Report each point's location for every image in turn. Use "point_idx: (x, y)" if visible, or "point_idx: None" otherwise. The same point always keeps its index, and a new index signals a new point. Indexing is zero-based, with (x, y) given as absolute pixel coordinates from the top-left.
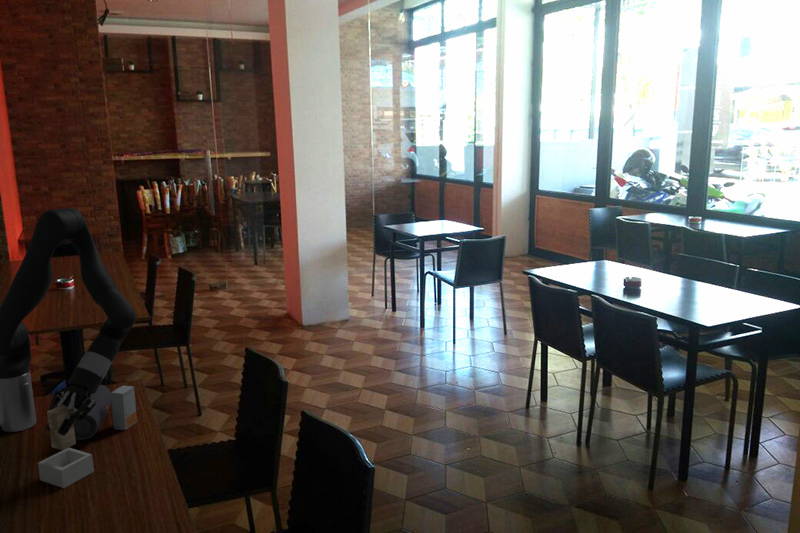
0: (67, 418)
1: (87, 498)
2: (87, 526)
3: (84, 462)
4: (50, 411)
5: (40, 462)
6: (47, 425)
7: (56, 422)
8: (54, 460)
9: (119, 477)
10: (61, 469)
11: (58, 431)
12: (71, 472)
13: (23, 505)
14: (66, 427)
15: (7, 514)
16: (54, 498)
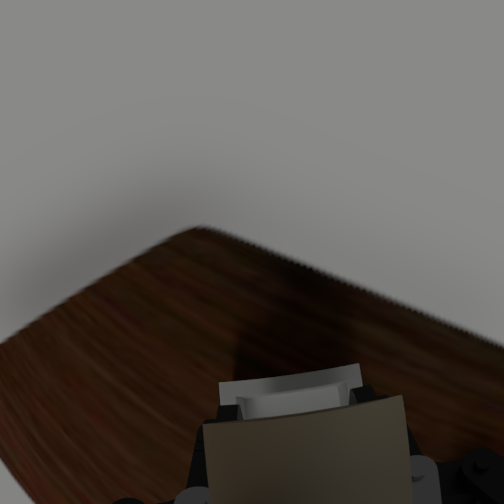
0: (197, 491)
1: (126, 384)
2: (52, 307)
3: None
4: (362, 419)
5: (353, 370)
6: (374, 398)
7: (257, 419)
8: None
9: (142, 496)
10: (225, 386)
11: (229, 406)
12: None
13: (248, 279)
14: (197, 452)
15: (243, 240)
16: (204, 342)
